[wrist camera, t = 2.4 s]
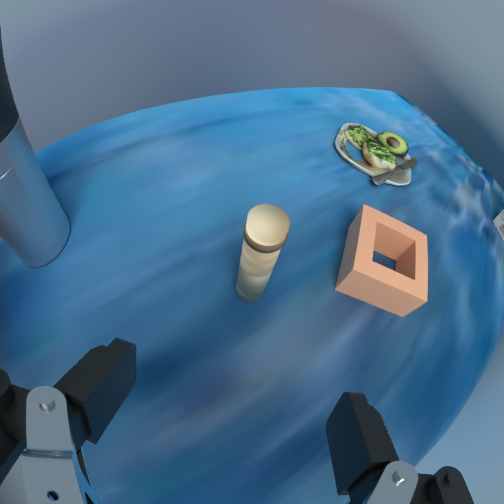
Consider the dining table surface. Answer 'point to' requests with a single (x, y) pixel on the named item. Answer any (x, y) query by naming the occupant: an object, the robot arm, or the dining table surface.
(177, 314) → the dining table surface
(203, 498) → the dining table surface
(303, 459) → the dining table surface
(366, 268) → the orange square ring
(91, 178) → the dining table surface
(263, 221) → the birch peg
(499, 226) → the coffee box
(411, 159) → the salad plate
